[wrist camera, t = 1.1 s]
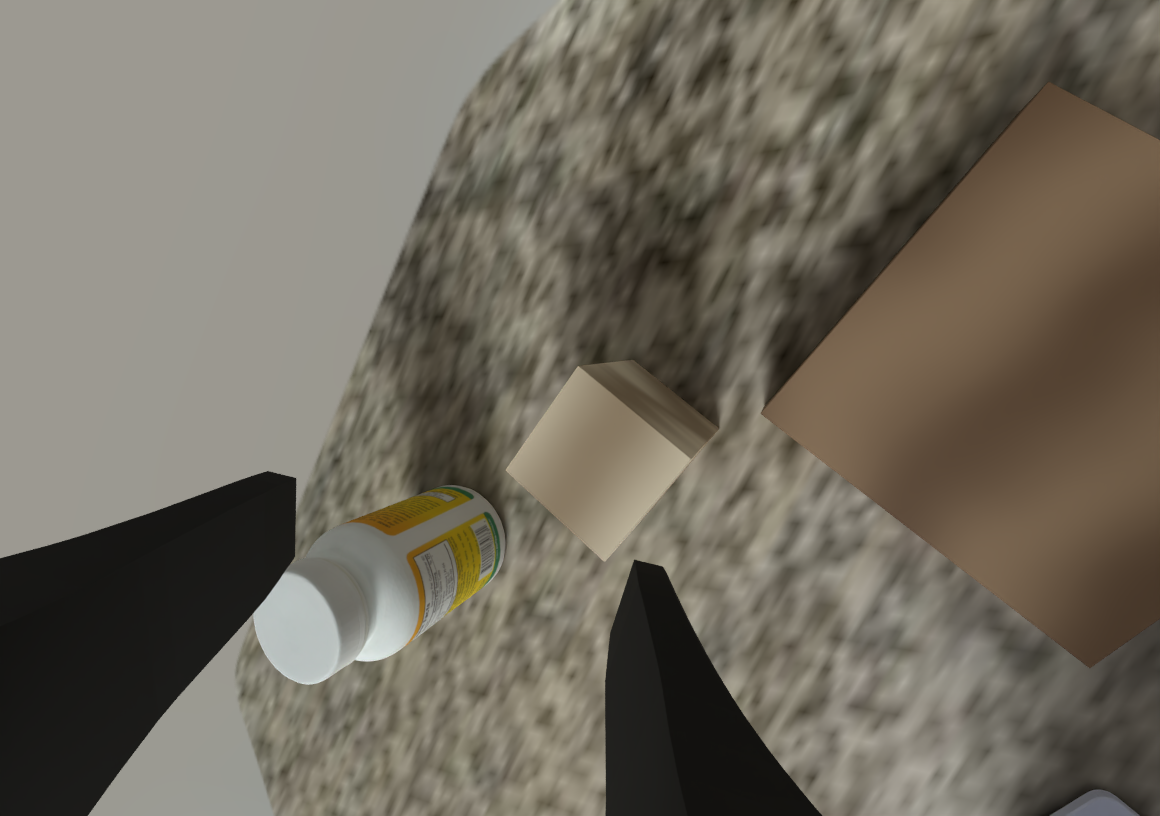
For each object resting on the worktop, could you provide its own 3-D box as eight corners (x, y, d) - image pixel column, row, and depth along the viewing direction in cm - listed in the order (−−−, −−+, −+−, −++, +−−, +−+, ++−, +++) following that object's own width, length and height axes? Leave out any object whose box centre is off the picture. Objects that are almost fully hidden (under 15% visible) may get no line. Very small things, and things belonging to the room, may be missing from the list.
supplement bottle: (529, 540, 25) (383, 647, 16) (468, 607, 27) (307, 736, 18) (455, 459, 26) (280, 519, 17) (400, 528, 28) (218, 614, 19)
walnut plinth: (1449, 343, 14) (1548, 343, 12) (1059, 634, 18) (1089, 668, 16) (1021, 110, 17) (1048, 81, 15) (763, 406, 20) (760, 413, 19)
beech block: (719, 428, 21) (691, 459, 16) (652, 508, 23) (604, 562, 17) (632, 359, 22) (578, 365, 17) (573, 440, 24) (505, 470, 18)
